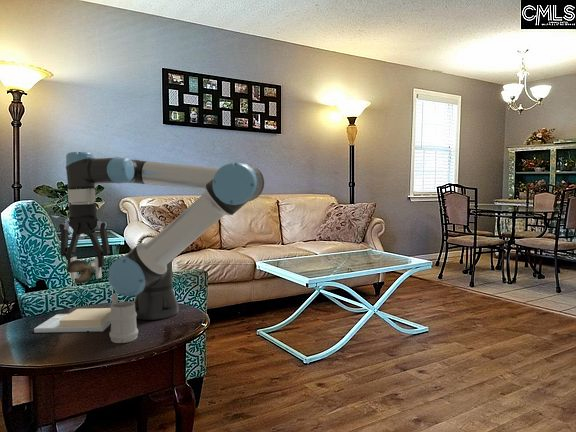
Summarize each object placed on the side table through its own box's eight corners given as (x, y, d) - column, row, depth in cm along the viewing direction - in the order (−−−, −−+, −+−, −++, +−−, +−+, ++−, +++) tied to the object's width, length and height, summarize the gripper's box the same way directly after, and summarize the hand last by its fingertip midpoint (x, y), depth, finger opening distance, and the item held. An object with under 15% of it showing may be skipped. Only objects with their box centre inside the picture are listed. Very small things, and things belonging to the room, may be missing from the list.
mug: (116, 346, 118) (114, 302, 117) (99, 335, 127) (98, 294, 126) (143, 338, 124) (141, 297, 123) (125, 328, 132) (124, 289, 131)
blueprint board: (119, 316, 144) (118, 307, 144) (103, 331, 130) (102, 320, 130) (57, 317, 143) (56, 308, 143) (34, 332, 129) (33, 321, 129)
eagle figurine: (72, 274, 137) (59, 274, 128) (85, 254, 138) (73, 253, 129) (93, 286, 137) (82, 288, 128) (106, 267, 138) (96, 267, 129)
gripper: (119, 201, 137) (123, 274, 139) (54, 203, 136) (59, 276, 138) (111, 203, 130) (115, 279, 132) (43, 204, 129) (48, 282, 131)
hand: (86, 277), depth 135 cm, fingers closed on eagle figurine, 7 cm apart
